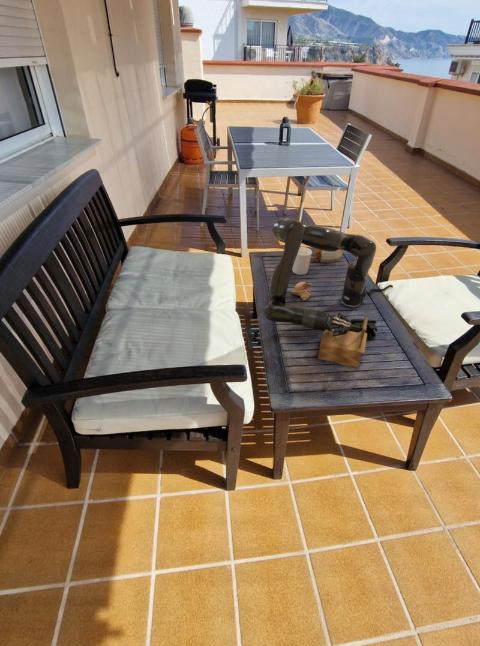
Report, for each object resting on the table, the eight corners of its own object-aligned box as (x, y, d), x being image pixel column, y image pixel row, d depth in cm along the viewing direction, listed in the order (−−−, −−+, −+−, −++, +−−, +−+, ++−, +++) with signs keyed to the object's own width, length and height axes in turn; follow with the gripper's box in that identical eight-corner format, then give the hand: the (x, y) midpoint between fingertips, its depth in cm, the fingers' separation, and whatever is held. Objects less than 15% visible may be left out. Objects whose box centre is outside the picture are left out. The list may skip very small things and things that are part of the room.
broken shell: (315, 302, 186) (306, 294, 179) (296, 306, 191) (287, 298, 184) (314, 285, 190) (306, 277, 182) (296, 289, 195) (287, 281, 188)
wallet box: (360, 348, 159) (364, 334, 155) (357, 368, 149) (361, 354, 145) (323, 339, 162) (325, 325, 158) (317, 358, 153) (320, 344, 148)
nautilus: (305, 266, 215) (302, 255, 228) (344, 265, 215) (339, 254, 228) (306, 253, 211) (303, 242, 224) (346, 252, 211) (340, 241, 224)
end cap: (370, 329, 170) (374, 316, 166) (375, 339, 164) (379, 326, 160) (348, 328, 169) (351, 316, 165) (351, 339, 163) (355, 326, 160)
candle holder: (309, 276, 206) (312, 255, 199) (291, 275, 205) (293, 254, 199) (308, 267, 214) (310, 247, 207) (290, 266, 214) (292, 246, 207)
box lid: (366, 334, 155) (372, 314, 149) (364, 354, 145) (369, 334, 139) (325, 325, 158) (329, 305, 153) (320, 344, 148) (324, 324, 143)
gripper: (312, 321, 143) (360, 332, 139) (319, 302, 154) (363, 312, 150) (310, 337, 148) (356, 347, 144) (316, 317, 158) (359, 327, 154)
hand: (360, 329), depth 147 cm, fingers closed
